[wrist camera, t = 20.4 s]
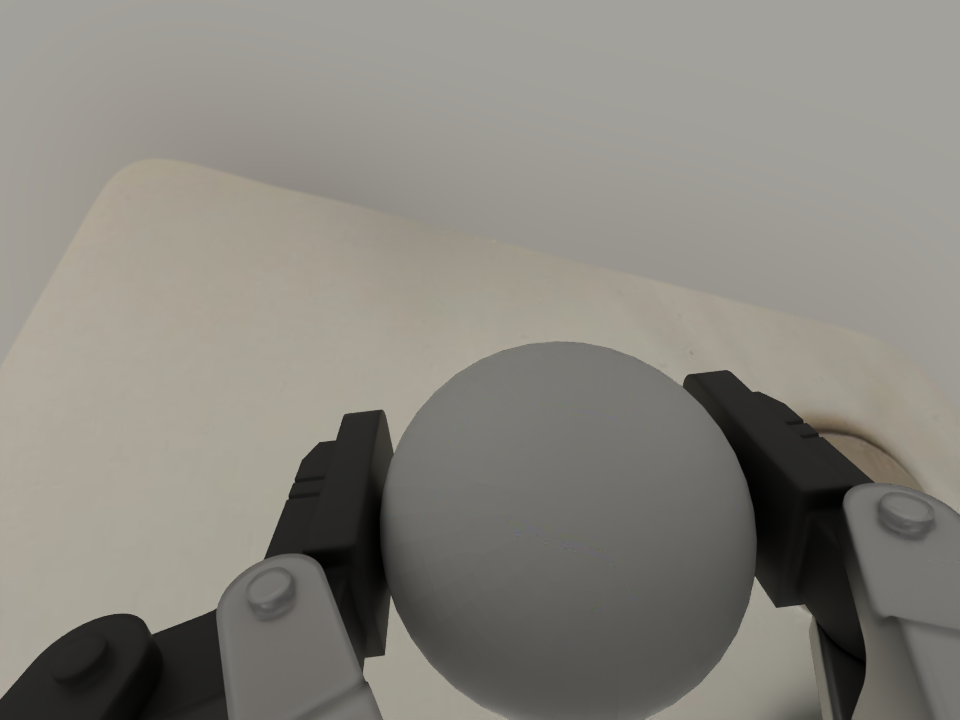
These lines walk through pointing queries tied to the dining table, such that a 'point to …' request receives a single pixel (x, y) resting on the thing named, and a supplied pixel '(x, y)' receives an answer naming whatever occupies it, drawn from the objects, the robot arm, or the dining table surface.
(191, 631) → the robot arm
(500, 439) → the light bulb
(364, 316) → the dining table surface
